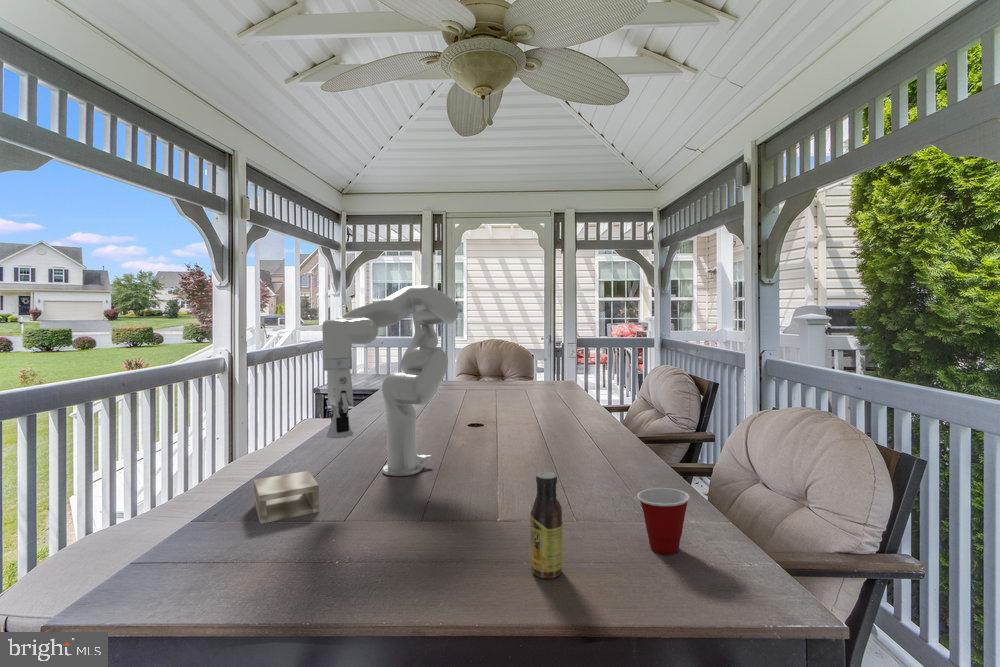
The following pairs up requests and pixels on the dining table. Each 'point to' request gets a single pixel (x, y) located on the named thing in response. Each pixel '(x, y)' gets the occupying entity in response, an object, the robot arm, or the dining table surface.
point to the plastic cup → (664, 517)
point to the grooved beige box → (286, 496)
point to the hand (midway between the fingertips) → (340, 428)
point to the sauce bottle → (546, 528)
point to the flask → (333, 430)
